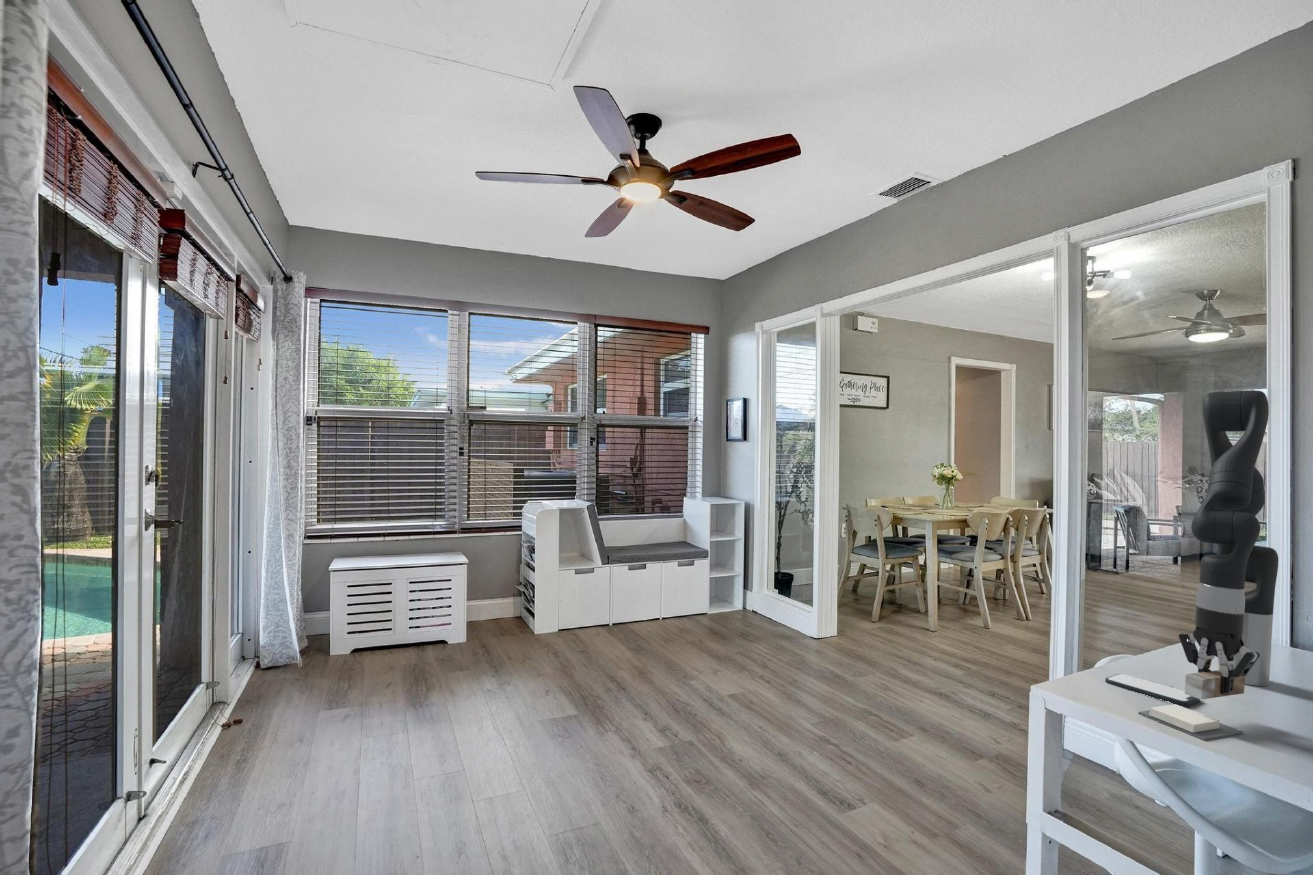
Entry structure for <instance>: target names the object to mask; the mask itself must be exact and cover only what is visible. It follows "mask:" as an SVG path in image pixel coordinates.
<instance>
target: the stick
mask: <svg viewBox="0 0 1313 875" xmlns="http://www.w3.org/2000/svg"><path fill="white" fill-rule="evenodd" d="M1221 676H1223V675H1222V672H1221V670H1219V669H1217V670H1211V671H1210V672H1200V673H1198V672H1194V673H1186V674H1185V682H1184V683H1185V684H1184V691H1185V694H1187V695H1190V696H1192V697H1195V698H1198V699H1200V701H1201V700H1208V699H1213V698H1214V699H1215V698H1222V697H1229V696H1235V695H1242V694H1245V685H1246V684H1245V676H1242V677H1235V678H1234V687H1233V692H1232V693H1230V694H1229V695H1223V694H1220V684H1221Z"/></svg>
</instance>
